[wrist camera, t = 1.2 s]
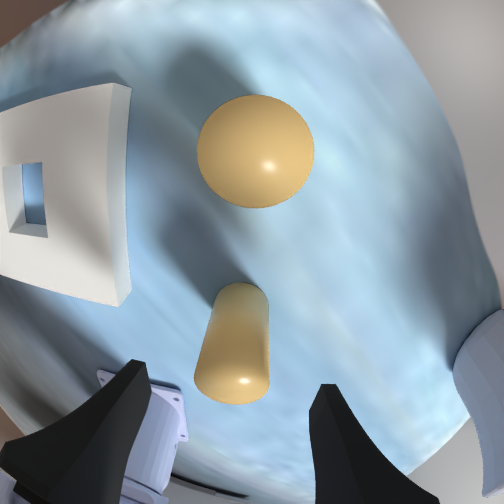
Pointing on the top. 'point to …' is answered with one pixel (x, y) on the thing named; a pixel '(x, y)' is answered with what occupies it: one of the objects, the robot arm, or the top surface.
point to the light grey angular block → (192, 494)
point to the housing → (68, 193)
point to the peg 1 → (255, 151)
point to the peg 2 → (236, 347)
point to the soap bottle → (485, 394)
